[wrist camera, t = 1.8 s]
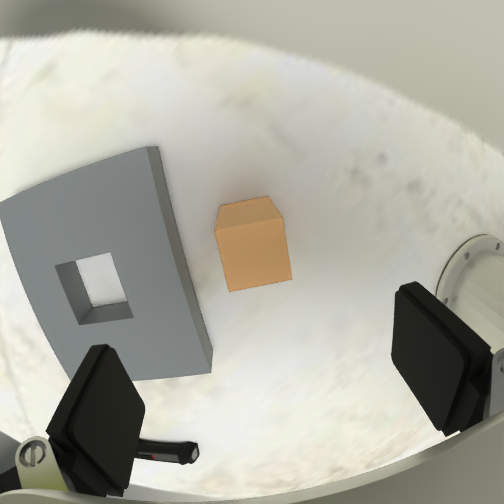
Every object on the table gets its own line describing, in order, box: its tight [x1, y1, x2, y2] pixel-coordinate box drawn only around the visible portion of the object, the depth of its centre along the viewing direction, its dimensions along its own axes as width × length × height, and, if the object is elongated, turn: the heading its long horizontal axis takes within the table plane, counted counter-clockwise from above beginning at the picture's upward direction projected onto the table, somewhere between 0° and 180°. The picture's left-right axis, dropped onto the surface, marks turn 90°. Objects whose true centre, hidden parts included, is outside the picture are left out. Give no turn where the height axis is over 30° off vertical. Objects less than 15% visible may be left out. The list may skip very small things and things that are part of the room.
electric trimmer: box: [134, 440, 199, 465], centre depth 34 cm, size 4×16×3 cm, turn 89°
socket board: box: [0, 147, 213, 381], centre depth 25 cm, size 16×20×4 cm
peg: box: [214, 196, 292, 292], centre depth 22 cm, size 4×4×8 cm
